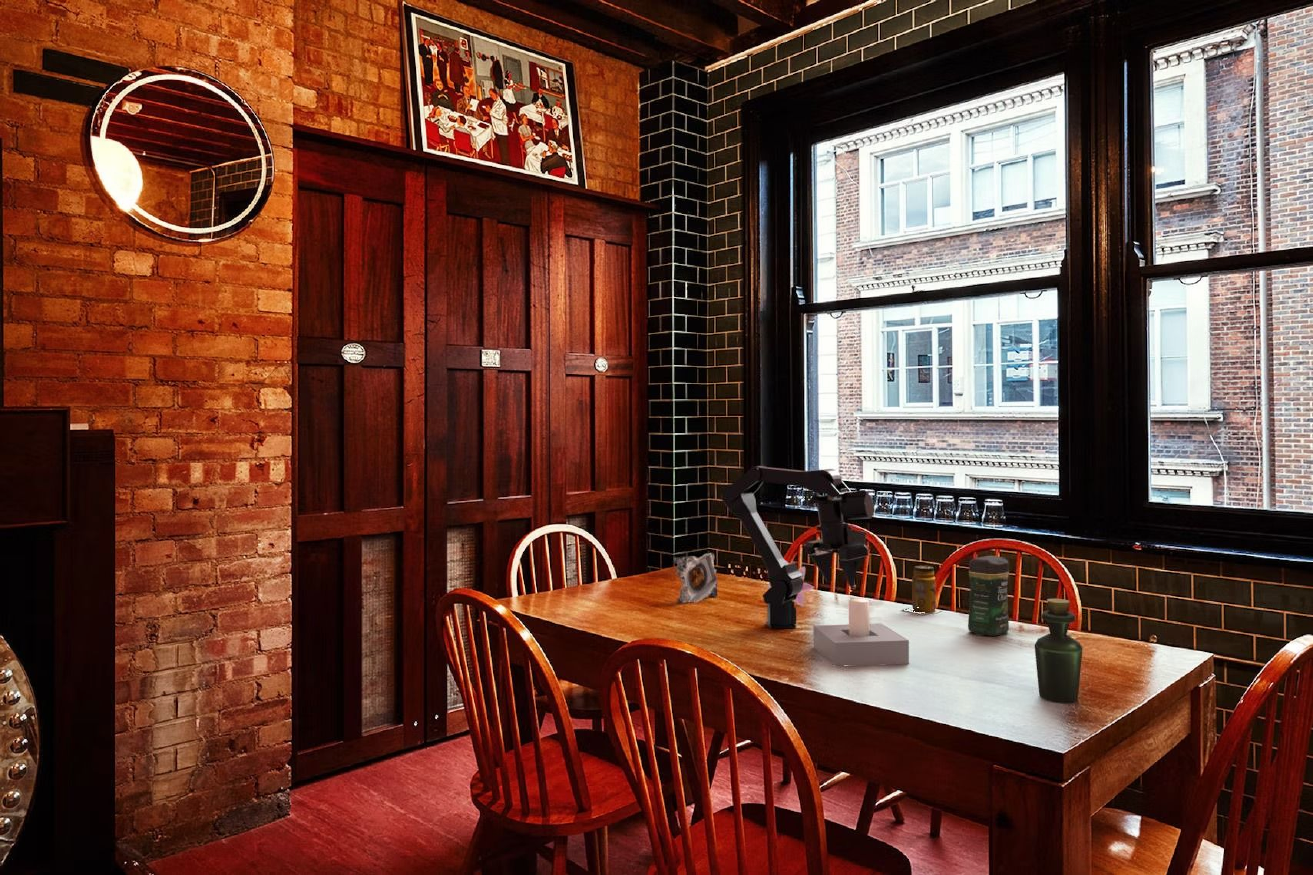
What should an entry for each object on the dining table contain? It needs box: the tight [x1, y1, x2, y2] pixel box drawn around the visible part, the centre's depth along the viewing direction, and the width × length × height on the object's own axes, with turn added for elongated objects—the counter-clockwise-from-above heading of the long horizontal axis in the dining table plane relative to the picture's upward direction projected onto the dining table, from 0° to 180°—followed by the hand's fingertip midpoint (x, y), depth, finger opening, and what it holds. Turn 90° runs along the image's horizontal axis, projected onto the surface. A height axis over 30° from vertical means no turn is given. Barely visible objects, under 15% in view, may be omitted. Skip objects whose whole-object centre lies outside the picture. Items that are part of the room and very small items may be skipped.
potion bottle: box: [1034, 598, 1084, 704], centre depth 162 cm, size 8×8×18 cm
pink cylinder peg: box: [848, 598, 870, 637], centre depth 193 cm, size 4×4×12 cm
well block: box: [812, 622, 910, 667], centre depth 193 cm, size 16×16×5 cm
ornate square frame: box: [673, 552, 718, 604], centre depth 256 cm, size 15×4×13 cm, turn 138°
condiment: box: [902, 565, 941, 616], centre depth 238 cm, size 7×8×12 cm
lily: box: [767, 566, 815, 607], centre depth 251 cm, size 12×12×10 cm
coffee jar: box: [967, 555, 1010, 637], centre depth 213 cm, size 10×8×19 cm
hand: (840, 583), depth 215 cm, fingers open, 9 cm apart
